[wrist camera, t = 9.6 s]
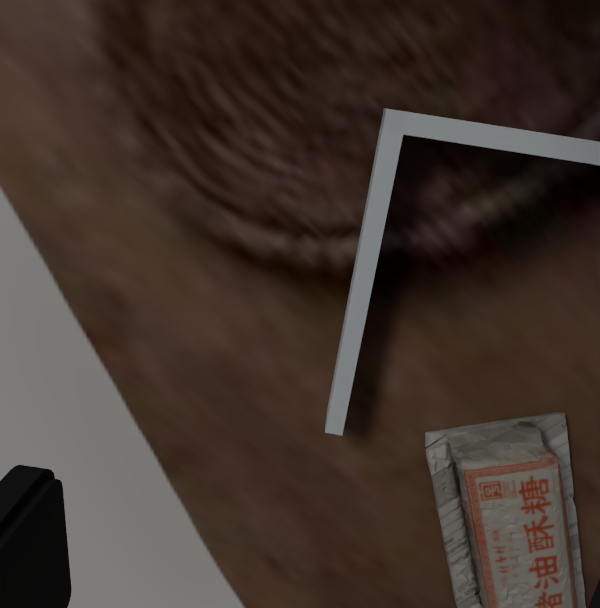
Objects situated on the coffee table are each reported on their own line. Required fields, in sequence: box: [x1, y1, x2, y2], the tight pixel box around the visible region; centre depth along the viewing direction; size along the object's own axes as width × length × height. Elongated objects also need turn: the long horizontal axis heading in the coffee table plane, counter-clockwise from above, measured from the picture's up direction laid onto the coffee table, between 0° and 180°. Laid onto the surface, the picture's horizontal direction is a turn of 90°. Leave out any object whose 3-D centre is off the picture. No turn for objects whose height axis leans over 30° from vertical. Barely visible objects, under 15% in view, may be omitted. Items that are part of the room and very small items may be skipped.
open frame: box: [325, 108, 600, 435], centre depth 35 cm, size 21×25×3 cm
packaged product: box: [425, 412, 586, 608], centre depth 41 cm, size 18×5×10 cm
